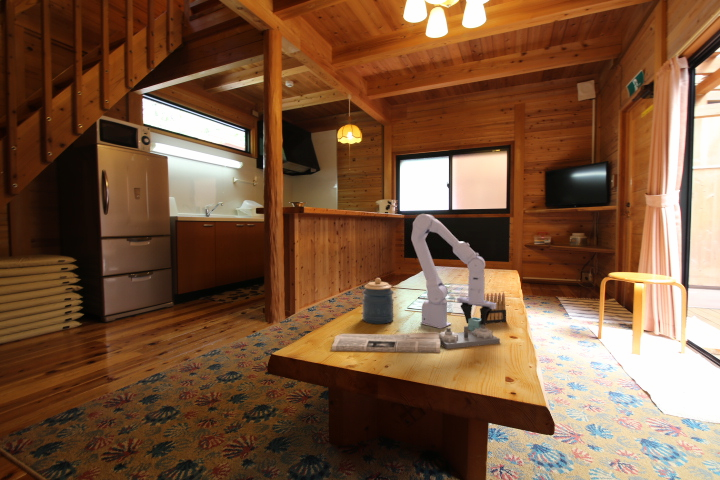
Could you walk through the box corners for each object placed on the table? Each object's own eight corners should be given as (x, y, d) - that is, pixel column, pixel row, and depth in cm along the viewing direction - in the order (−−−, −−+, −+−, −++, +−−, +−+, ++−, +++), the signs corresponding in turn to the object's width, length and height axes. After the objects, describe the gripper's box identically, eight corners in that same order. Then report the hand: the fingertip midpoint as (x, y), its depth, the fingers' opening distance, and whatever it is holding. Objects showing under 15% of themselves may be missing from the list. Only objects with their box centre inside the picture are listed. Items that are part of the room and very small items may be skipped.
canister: (390, 325, 128) (390, 281, 127) (358, 323, 132) (358, 279, 131) (396, 316, 141) (396, 276, 140) (367, 314, 144) (366, 274, 144)
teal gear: (464, 329, 123) (464, 319, 123) (472, 326, 128) (472, 315, 127) (479, 333, 119) (479, 322, 119) (487, 329, 123) (487, 319, 123)
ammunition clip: (503, 320, 135) (504, 291, 134) (506, 322, 133) (507, 292, 132) (480, 322, 133) (480, 293, 132) (482, 323, 131) (483, 293, 130)
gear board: (446, 348, 104) (446, 333, 104) (433, 339, 113) (433, 325, 113) (499, 343, 109) (499, 328, 109) (483, 334, 118) (483, 320, 118)
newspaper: (331, 352, 103) (331, 341, 103) (336, 338, 116) (336, 328, 116) (444, 354, 101) (444, 343, 101) (437, 340, 114) (437, 330, 114)
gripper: (500, 290, 120) (499, 326, 121) (463, 284, 131) (463, 318, 131) (491, 292, 115) (491, 330, 116) (454, 287, 126) (454, 322, 126)
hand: (475, 324), depth 123 cm, fingers open, 5 cm apart
